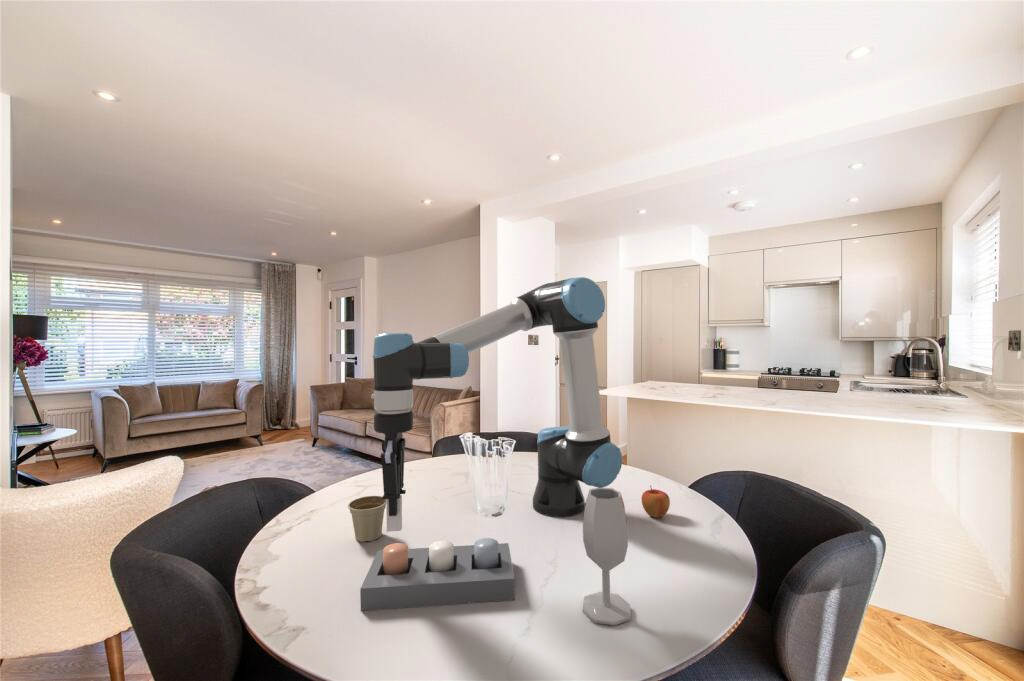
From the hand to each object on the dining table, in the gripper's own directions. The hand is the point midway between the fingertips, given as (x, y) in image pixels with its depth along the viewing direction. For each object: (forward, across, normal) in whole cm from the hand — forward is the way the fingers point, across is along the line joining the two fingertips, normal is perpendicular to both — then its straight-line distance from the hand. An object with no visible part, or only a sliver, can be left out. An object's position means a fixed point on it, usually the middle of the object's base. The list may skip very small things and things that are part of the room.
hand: (394, 529), depth 83 cm
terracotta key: (+8, 0, 0) cm, 8 cm away
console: (+11, 0, +9) cm, 15 cm away
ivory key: (+8, 0, +9) cm, 12 cm away
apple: (+11, -26, +65) cm, 71 cm away
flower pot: (+12, -23, -11) cm, 28 cm away
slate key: (+8, 0, +18) cm, 20 cm away
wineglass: (+11, +12, +39) cm, 43 cm away
